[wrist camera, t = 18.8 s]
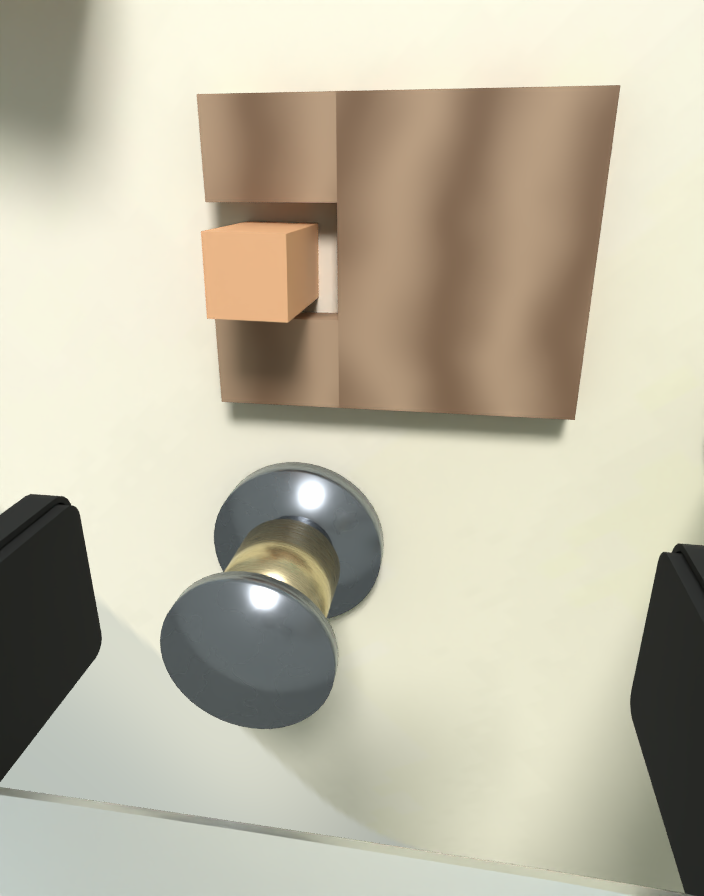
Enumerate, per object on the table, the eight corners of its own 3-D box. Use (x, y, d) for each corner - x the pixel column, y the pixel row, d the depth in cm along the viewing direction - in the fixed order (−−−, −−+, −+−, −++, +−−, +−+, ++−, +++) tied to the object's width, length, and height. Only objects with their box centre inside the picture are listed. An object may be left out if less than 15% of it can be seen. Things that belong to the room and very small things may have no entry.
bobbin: (385, 467, 41) (354, 575, 30) (382, 614, 45) (354, 755, 34) (215, 457, 42) (128, 555, 31) (228, 599, 47) (154, 729, 36)
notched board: (611, 90, 31) (620, 85, 30) (569, 407, 37) (574, 419, 36) (211, 98, 34) (196, 94, 32) (232, 391, 40) (221, 401, 39)
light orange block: (318, 223, 36) (286, 233, 30) (318, 297, 37) (287, 322, 31) (247, 221, 36) (201, 231, 30) (250, 294, 38) (206, 318, 32)
